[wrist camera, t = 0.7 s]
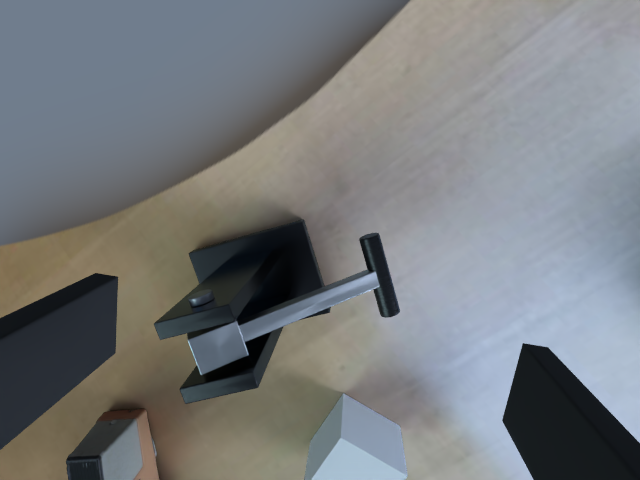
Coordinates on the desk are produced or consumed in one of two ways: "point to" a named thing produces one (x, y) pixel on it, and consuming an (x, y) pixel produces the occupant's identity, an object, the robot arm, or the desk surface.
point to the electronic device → (116, 449)
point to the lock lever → (296, 310)
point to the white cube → (356, 446)
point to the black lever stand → (242, 299)
